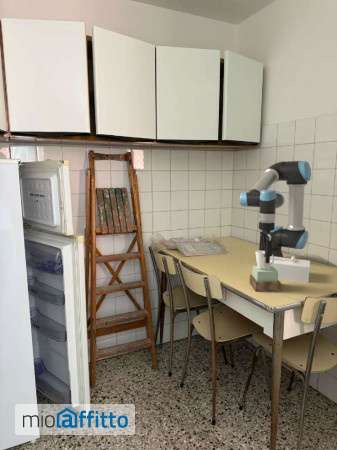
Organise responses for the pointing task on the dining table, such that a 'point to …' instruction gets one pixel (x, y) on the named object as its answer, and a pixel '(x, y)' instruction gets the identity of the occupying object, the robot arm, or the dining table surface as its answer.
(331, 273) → the dining table surface
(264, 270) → the sage block
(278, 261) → the elongated white prism
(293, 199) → the robot arm
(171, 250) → the dining table surface
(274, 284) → the walnut block
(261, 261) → the cup
